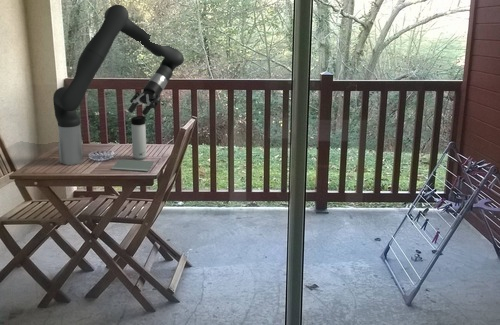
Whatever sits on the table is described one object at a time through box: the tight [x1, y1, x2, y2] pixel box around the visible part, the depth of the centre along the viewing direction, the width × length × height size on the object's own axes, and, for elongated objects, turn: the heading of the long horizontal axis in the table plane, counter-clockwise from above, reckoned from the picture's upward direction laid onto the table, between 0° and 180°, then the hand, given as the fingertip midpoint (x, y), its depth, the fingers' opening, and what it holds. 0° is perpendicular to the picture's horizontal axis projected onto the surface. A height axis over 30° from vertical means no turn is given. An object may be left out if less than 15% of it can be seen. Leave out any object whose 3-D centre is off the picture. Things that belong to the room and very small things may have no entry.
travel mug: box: [130, 115, 148, 161], centre depth 223 cm, size 6×7×20 cm
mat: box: [110, 158, 155, 173], centre depth 216 cm, size 16×12×1 cm
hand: (136, 112), depth 214 cm, fingers open, 8 cm apart
